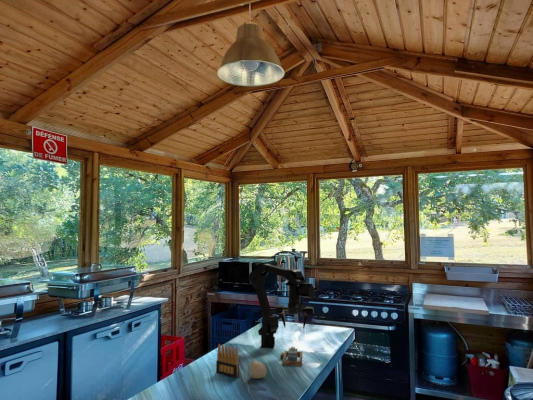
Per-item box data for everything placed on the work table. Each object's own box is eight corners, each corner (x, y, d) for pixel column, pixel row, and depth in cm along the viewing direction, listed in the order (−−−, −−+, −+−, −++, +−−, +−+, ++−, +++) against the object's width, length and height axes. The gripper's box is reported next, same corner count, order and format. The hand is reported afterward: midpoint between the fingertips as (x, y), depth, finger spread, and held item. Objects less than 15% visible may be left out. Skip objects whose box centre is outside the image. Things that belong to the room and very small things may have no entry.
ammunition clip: (239, 376, 151) (239, 346, 152) (236, 378, 149) (236, 347, 150) (218, 371, 156) (218, 342, 158) (215, 373, 155) (216, 343, 156)
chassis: (279, 365, 164) (279, 361, 164) (281, 354, 178) (281, 350, 179) (301, 366, 163) (301, 361, 163) (302, 355, 177) (302, 351, 177)
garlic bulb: (255, 374, 154) (255, 354, 155) (268, 377, 151) (268, 356, 151) (246, 379, 148) (246, 358, 149) (260, 382, 145) (260, 361, 146)
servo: (287, 364, 166) (287, 351, 166) (289, 357, 175) (289, 345, 176) (296, 364, 165) (296, 351, 166) (297, 357, 175) (297, 345, 175)
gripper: (273, 297, 176) (273, 331, 175) (313, 299, 173) (312, 333, 172) (276, 293, 187) (276, 325, 186) (313, 295, 184) (313, 327, 183)
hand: (294, 327), depth 181 cm, fingers open, 9 cm apart
